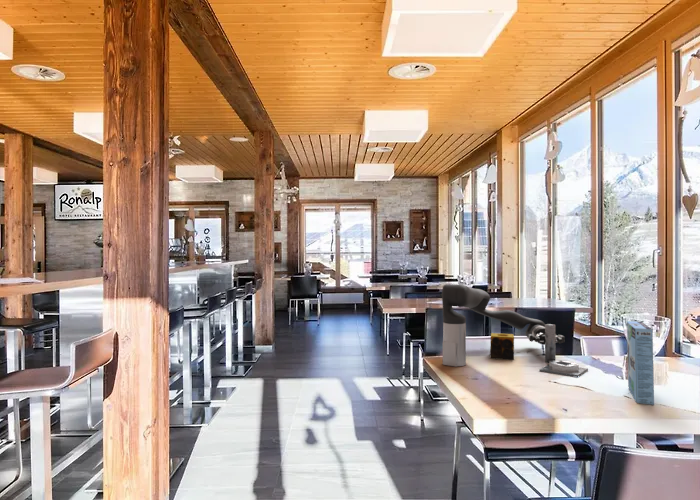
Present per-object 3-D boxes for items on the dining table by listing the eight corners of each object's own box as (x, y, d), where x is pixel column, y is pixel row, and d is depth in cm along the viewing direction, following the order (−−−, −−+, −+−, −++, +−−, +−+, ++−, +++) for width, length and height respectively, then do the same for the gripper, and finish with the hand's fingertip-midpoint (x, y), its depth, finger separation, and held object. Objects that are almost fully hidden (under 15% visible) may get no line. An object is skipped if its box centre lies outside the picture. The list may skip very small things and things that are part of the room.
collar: (577, 377, 175) (577, 369, 175) (539, 371, 184) (539, 363, 184) (588, 370, 186) (587, 362, 186) (551, 365, 195) (551, 357, 195)
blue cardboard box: (654, 405, 142) (653, 329, 142) (634, 403, 144) (634, 328, 144) (644, 389, 159) (643, 321, 160) (626, 387, 161) (626, 320, 162)
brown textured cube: (490, 358, 207) (489, 336, 208) (490, 354, 217) (490, 332, 217) (514, 360, 204) (514, 337, 205) (513, 355, 214) (513, 333, 214)
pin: (553, 364, 197) (553, 325, 197) (543, 362, 200) (543, 324, 200) (556, 362, 200) (556, 324, 200) (547, 361, 203) (546, 323, 203)
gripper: (525, 326, 218) (532, 331, 202) (558, 327, 215) (567, 332, 200) (525, 342, 218) (532, 349, 202) (558, 343, 215) (567, 350, 199)
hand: (549, 340), depth 201 cm, fingers open, 8 cm apart
